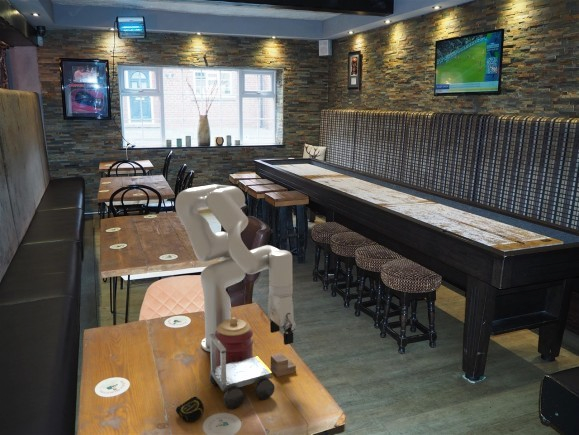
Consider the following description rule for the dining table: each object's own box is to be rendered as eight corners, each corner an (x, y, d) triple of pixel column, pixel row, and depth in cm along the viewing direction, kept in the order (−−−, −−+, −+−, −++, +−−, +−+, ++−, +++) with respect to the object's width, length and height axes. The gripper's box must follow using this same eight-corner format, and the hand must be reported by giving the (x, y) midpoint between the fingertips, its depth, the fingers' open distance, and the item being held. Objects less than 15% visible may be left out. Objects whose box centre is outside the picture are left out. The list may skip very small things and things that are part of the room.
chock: (270, 370, 163) (270, 355, 162) (288, 365, 166) (289, 350, 165) (277, 377, 159) (277, 362, 157) (295, 372, 162) (295, 357, 161)
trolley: (208, 386, 152) (207, 331, 148) (255, 373, 160) (255, 320, 155) (224, 411, 140) (223, 352, 136) (274, 396, 148) (274, 339, 143)
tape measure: (198, 402, 142) (195, 392, 141) (209, 414, 137) (206, 405, 136) (177, 415, 139) (174, 406, 137) (187, 428, 134) (184, 418, 132)
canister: (222, 353, 173) (221, 308, 169) (257, 357, 171) (257, 311, 167) (210, 372, 160) (208, 324, 156) (247, 377, 158) (247, 328, 154)
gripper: (259, 282, 160) (260, 329, 164) (282, 299, 146) (283, 351, 149) (279, 278, 164) (279, 325, 168) (304, 295, 149) (304, 345, 153)
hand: (281, 337), depth 158 cm, fingers open, 9 cm apart
